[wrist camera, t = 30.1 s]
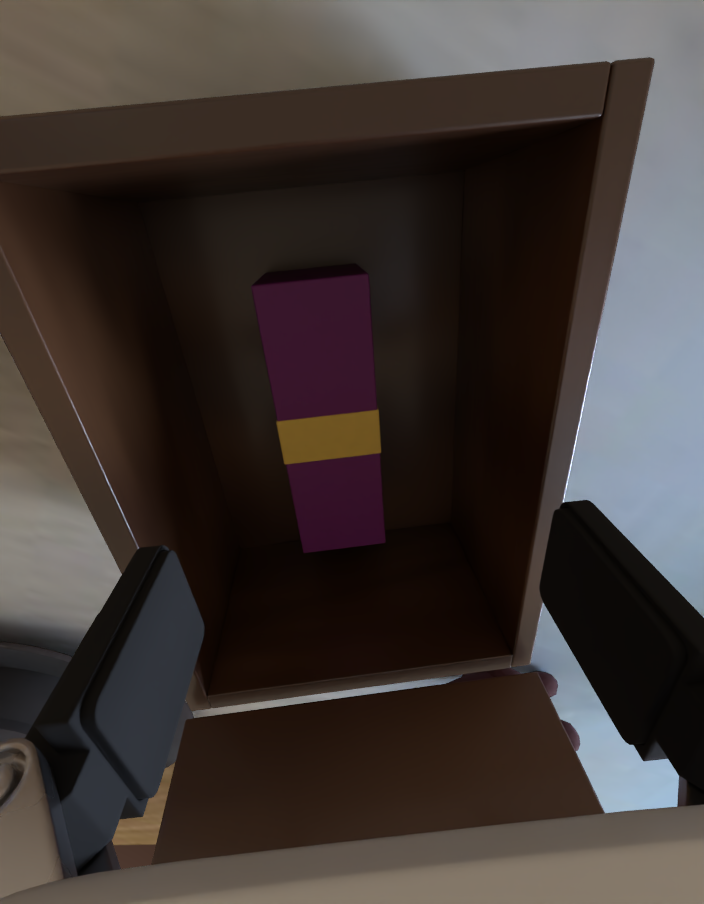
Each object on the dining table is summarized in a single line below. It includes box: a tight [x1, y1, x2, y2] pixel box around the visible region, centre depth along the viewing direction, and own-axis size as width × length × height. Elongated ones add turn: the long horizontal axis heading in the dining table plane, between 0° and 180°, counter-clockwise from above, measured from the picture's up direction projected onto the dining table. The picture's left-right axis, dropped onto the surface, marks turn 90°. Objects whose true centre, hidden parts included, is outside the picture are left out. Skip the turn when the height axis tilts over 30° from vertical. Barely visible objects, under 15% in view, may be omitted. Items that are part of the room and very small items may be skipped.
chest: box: [0, 57, 654, 711], centre depth 17 cm, size 20×15×10 cm
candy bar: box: [251, 263, 386, 553], centre depth 18 cm, size 4×12×5 cm, turn 5°
